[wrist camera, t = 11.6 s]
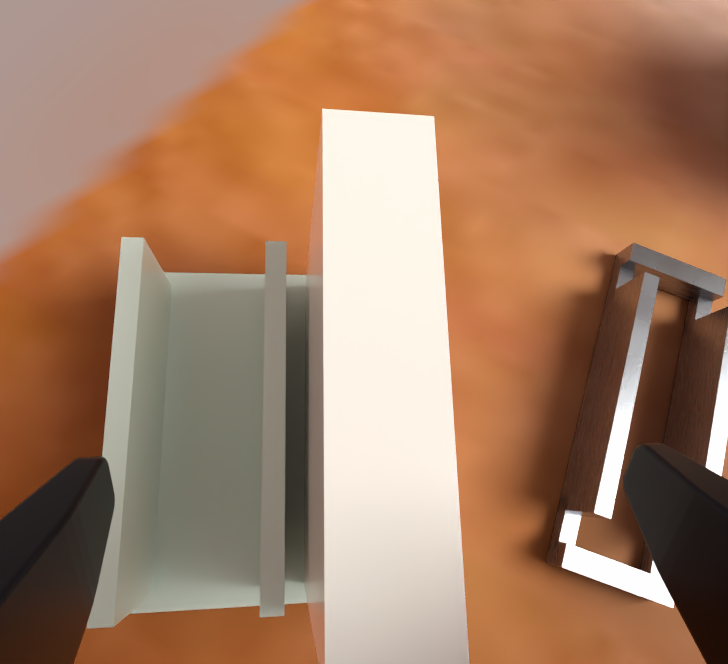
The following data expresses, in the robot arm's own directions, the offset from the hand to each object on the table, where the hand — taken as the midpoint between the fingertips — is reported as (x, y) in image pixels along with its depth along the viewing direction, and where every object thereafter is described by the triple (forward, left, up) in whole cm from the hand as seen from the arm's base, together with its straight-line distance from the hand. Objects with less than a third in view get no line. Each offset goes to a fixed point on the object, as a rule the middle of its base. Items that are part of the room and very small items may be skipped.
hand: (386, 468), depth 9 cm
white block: (+1, -1, -10) cm, 10 cm away
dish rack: (+2, +1, -11) cm, 11 cm away
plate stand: (-5, -11, -11) cm, 16 cm away
